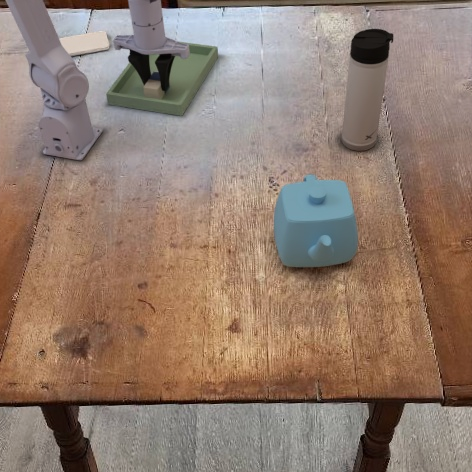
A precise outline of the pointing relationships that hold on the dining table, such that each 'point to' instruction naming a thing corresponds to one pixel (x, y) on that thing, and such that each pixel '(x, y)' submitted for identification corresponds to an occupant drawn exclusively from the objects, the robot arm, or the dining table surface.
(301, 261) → the teapot
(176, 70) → the tray
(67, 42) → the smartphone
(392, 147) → the dining table surface
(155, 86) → the eraser
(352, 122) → the travel mug
